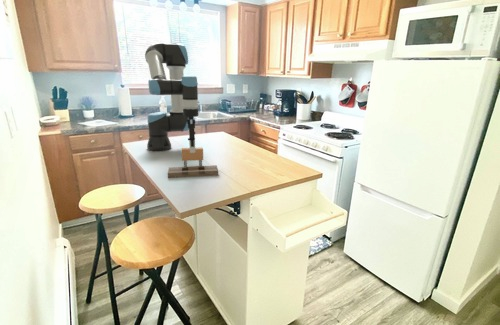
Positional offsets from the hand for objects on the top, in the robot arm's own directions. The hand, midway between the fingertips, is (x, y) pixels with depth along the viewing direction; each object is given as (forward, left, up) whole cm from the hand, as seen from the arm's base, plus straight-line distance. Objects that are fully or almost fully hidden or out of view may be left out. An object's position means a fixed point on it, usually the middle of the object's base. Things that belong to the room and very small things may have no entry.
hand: (192, 149), depth 141 cm
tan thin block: (0, 0, -10) cm, 10 cm away
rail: (+11, 0, -10) cm, 14 cm away
